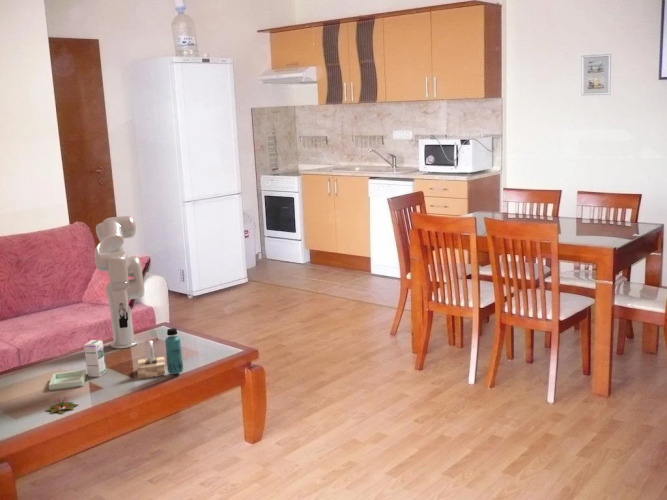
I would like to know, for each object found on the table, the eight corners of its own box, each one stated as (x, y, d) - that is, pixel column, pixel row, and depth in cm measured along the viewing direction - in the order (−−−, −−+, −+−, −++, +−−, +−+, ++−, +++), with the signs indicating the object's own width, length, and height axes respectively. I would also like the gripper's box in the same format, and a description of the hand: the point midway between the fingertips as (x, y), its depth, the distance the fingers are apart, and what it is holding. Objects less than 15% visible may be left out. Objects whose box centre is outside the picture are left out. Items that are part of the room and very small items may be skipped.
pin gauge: (148, 371, 299) (144, 340, 296) (155, 370, 300) (152, 339, 297) (148, 374, 296) (144, 342, 293) (155, 373, 296) (152, 341, 294)
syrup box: (100, 377, 295) (96, 344, 292) (87, 376, 296) (83, 344, 293) (107, 371, 301) (103, 340, 298) (94, 371, 302) (90, 339, 299)
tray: (54, 379, 295) (53, 373, 295) (86, 375, 298) (85, 369, 297) (49, 390, 283) (48, 384, 282) (82, 386, 286) (82, 380, 285)
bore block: (139, 369, 302) (138, 359, 301) (165, 366, 304) (164, 356, 303) (138, 378, 291) (137, 368, 290) (165, 375, 293) (164, 365, 293)
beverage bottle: (164, 375, 294) (160, 329, 290) (178, 370, 299) (173, 325, 295) (173, 378, 289) (169, 332, 285) (187, 373, 294) (182, 328, 290)
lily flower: (38, 413, 262) (36, 402, 261) (62, 401, 273) (60, 390, 272) (61, 418, 257) (60, 406, 256) (85, 405, 268) (84, 394, 267)
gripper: (111, 281, 297) (115, 319, 301) (109, 291, 281) (114, 331, 285) (129, 279, 299) (133, 317, 303) (128, 289, 283) (133, 329, 286)
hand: (124, 324), depth 294 cm, fingers open, 9 cm apart
